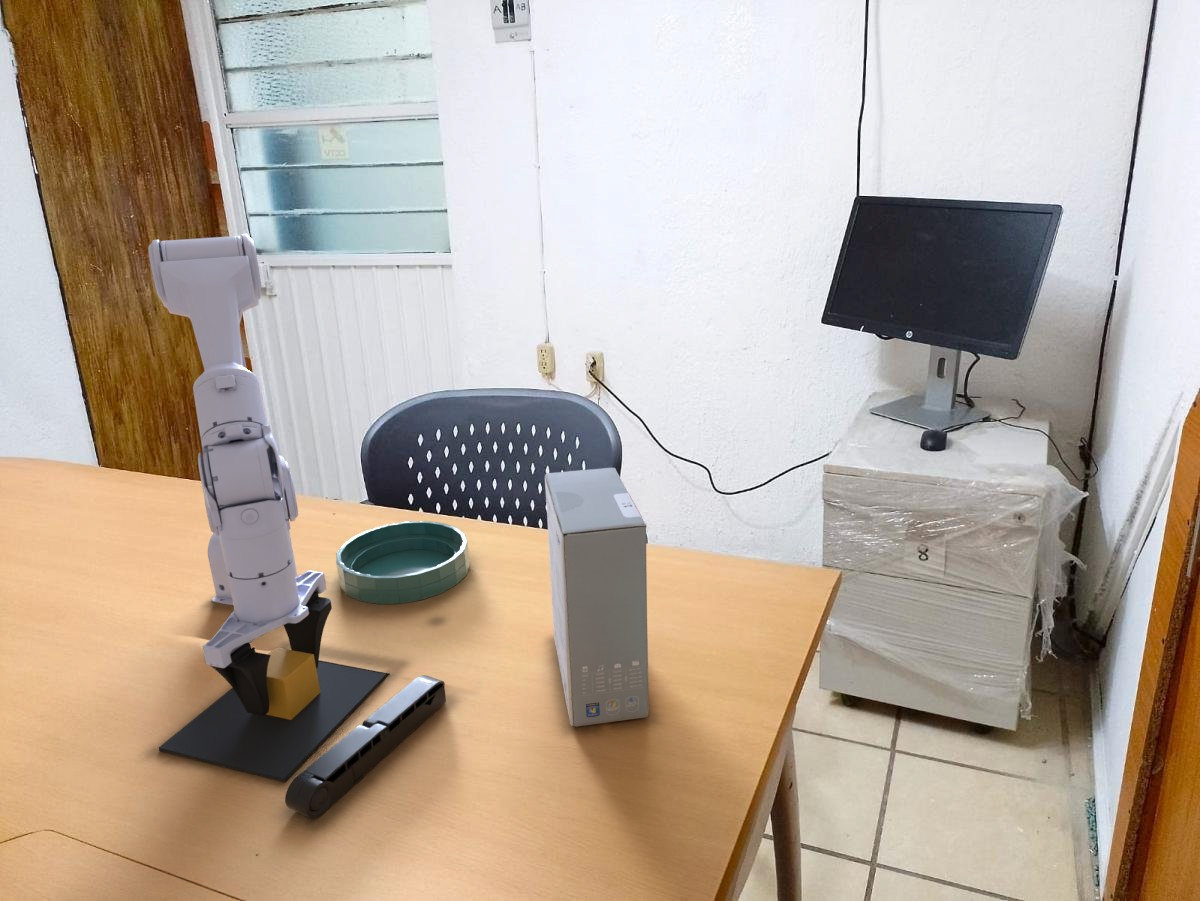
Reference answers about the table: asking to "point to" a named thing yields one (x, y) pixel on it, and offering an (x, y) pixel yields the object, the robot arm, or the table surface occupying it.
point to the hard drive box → (598, 595)
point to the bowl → (402, 562)
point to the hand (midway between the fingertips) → (283, 689)
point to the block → (290, 682)
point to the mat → (274, 726)
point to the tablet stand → (364, 747)
